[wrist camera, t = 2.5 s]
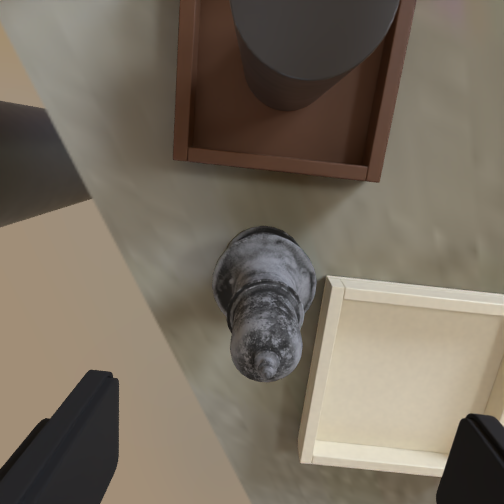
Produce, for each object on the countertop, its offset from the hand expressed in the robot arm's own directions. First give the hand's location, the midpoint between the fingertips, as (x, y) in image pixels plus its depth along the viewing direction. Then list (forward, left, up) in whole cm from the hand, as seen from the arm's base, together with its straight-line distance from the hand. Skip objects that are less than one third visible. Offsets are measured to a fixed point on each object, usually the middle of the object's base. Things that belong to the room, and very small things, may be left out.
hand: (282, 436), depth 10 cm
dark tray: (0, +12, -15) cm, 19 cm away
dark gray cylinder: (0, +12, -14) cm, 19 cm away
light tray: (+11, -7, -15) cm, 19 cm away
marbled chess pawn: (0, 0, -15) cm, 15 cm away
